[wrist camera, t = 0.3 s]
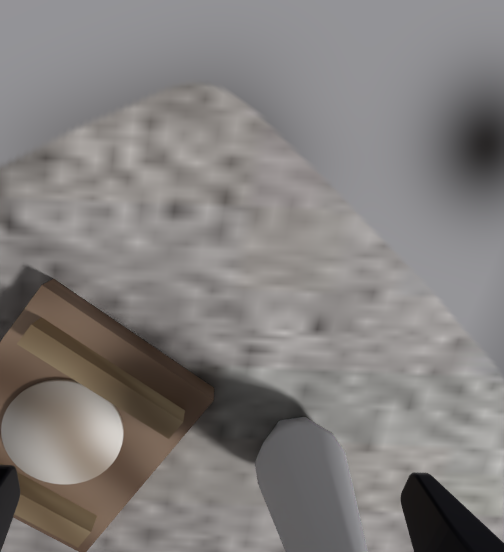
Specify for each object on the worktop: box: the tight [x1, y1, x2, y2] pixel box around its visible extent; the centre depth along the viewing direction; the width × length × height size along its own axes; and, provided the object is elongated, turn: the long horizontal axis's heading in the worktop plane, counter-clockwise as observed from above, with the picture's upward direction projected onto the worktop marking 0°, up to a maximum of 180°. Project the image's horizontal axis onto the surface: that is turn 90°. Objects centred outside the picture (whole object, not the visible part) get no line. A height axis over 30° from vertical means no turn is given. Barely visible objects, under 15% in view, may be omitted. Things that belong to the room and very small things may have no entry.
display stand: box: [0, 279, 214, 552], centre depth 23 cm, size 14×12×3 cm
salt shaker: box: [255, 417, 368, 552], centre depth 20 cm, size 6×6×13 cm
